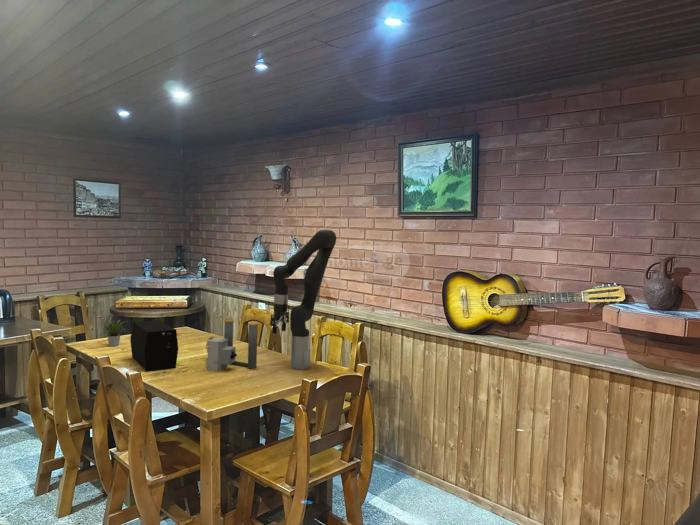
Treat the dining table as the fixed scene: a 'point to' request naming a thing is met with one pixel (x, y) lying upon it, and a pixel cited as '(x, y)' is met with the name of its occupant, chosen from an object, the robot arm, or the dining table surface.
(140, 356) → the uninterruptible power supply
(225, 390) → the dining table surface
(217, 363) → the circuit breaker
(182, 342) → the dining table surface
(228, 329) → the far cord post
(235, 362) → the floor cable
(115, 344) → the house plant
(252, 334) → the post
